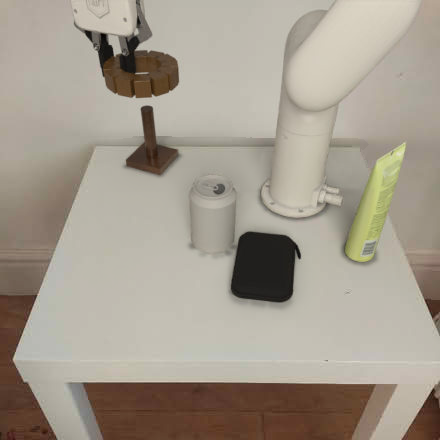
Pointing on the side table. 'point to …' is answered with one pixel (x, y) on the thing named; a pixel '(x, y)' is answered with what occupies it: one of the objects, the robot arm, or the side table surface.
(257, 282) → the carrying case
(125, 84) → the ring
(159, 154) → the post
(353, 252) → the tube
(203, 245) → the can
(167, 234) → the side table surface
